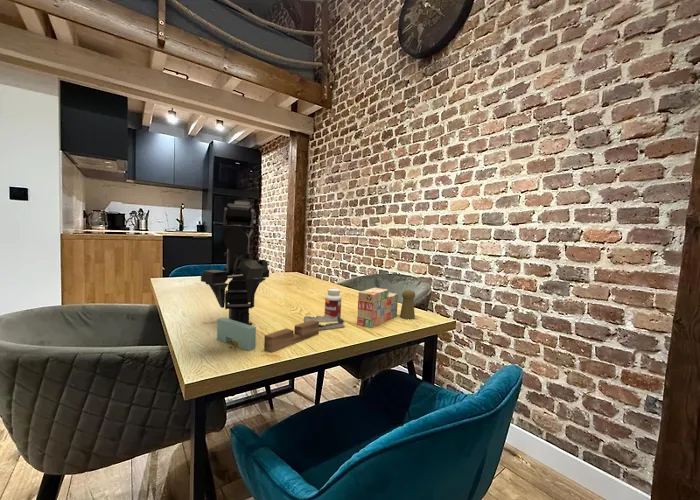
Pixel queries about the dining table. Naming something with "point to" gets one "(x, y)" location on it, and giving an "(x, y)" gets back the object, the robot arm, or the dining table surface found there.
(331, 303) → the pill bottle
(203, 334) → the dining table surface
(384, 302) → the stack of blocks
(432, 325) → the dining table surface
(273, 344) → the walnut board
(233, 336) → the teal plate
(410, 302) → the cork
